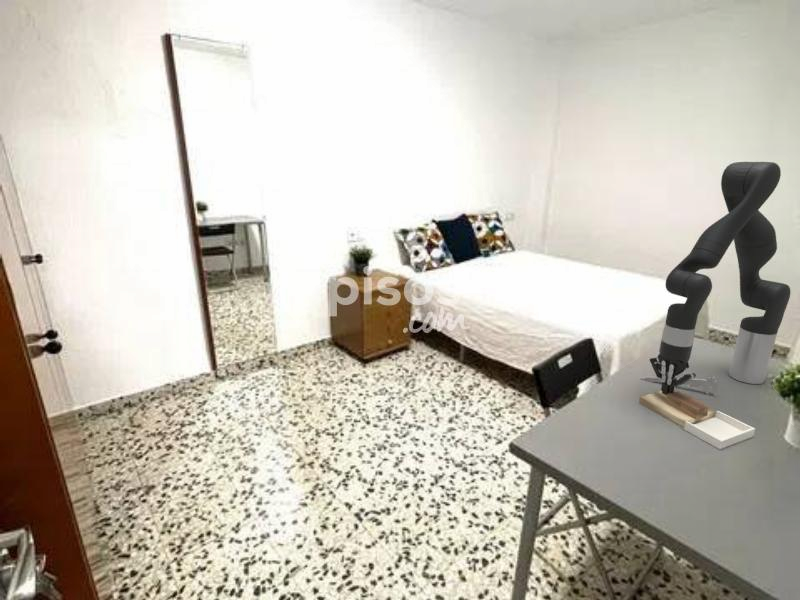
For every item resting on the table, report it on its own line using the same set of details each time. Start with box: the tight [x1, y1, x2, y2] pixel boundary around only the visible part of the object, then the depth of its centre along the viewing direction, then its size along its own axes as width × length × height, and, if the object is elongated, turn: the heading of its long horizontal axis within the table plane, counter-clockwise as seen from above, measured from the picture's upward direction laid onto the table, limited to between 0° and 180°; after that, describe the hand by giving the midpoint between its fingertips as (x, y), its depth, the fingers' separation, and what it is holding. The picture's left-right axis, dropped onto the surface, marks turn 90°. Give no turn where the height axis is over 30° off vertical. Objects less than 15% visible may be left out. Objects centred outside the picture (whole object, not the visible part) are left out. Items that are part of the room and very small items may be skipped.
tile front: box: [680, 397, 710, 419], centre depth 115 cm, size 4×4×3 cm
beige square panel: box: [638, 390, 716, 429], centre depth 120 cm, size 12×14×2 cm
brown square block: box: [665, 390, 693, 411], centre depth 119 cm, size 4×4×3 cm
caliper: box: [640, 375, 718, 397], centre depth 132 cm, size 20×1×6 cm, turn 55°
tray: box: [683, 410, 756, 450], centre depth 109 cm, size 13×9×2 cm
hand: (666, 394), depth 122 cm, fingers closed
